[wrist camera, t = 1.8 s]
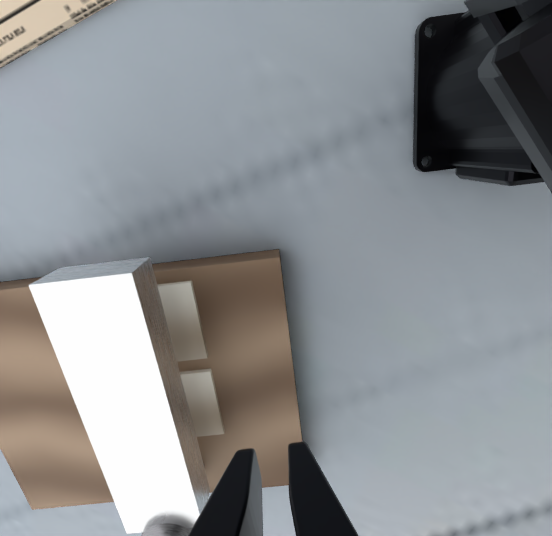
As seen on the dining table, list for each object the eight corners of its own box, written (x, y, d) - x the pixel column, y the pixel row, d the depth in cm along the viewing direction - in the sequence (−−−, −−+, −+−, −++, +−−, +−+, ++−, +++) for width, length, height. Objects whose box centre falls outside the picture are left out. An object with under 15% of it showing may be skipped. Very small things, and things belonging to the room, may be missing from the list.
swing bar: (217, 519, 20) (210, 569, 18) (151, 525, 20) (135, 575, 18) (150, 256, 14) (126, 277, 12) (59, 267, 15) (19, 290, 12)
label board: (-52, 288, 19) (-124, 318, 16) (279, 249, 19) (280, 271, 15) (45, 489, 24) (8, 545, 21) (305, 463, 24) (310, 517, 20)
